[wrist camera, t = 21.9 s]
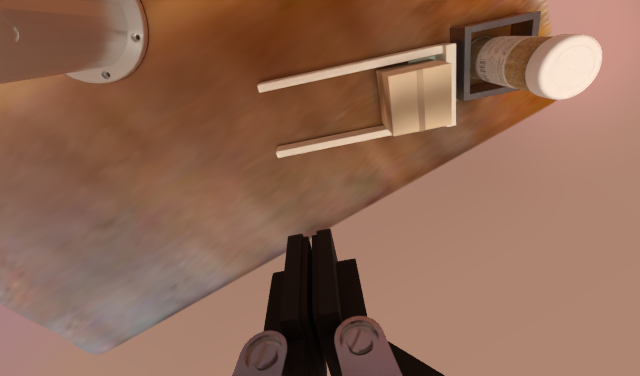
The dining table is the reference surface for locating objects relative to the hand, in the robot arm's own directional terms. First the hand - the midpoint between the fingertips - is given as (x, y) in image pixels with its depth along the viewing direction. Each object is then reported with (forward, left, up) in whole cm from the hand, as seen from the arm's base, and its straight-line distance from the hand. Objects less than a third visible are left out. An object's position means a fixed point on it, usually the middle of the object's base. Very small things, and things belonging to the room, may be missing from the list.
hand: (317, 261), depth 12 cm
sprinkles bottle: (-2, +20, -27) cm, 34 cm away
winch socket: (-2, +20, -27) cm, 34 cm away
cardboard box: (0, +11, -27) cm, 29 cm away
